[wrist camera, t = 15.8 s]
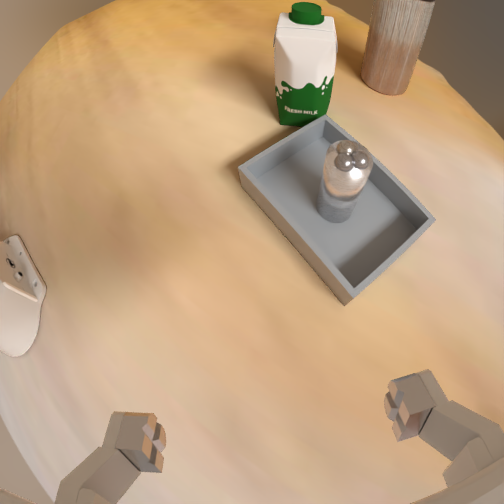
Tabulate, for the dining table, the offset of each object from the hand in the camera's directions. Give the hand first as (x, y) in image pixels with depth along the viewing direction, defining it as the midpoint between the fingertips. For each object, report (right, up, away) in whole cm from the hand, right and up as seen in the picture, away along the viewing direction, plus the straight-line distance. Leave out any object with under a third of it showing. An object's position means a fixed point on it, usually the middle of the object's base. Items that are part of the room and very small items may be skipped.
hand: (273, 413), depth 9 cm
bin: (+11, +11, +33) cm, 36 cm away
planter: (+26, +40, +42) cm, 64 cm away
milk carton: (+8, +29, +40) cm, 50 cm away
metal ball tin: (+11, +12, +32) cm, 36 cm away
